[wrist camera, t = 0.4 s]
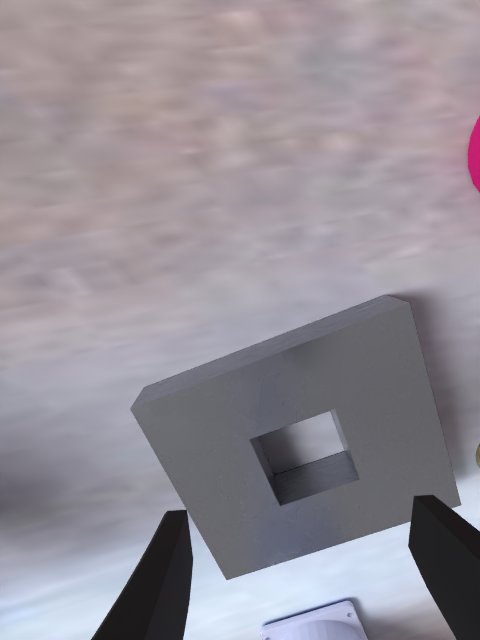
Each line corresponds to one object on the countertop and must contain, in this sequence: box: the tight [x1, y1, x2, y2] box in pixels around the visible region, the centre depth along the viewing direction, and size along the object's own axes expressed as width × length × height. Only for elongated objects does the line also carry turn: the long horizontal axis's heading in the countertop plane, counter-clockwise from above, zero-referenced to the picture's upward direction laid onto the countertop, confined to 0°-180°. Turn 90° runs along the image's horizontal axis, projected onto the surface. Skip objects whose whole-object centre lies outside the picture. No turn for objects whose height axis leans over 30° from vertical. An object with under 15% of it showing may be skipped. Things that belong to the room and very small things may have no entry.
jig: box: [131, 295, 461, 580], centre depth 18 cm, size 14×16×2 cm
